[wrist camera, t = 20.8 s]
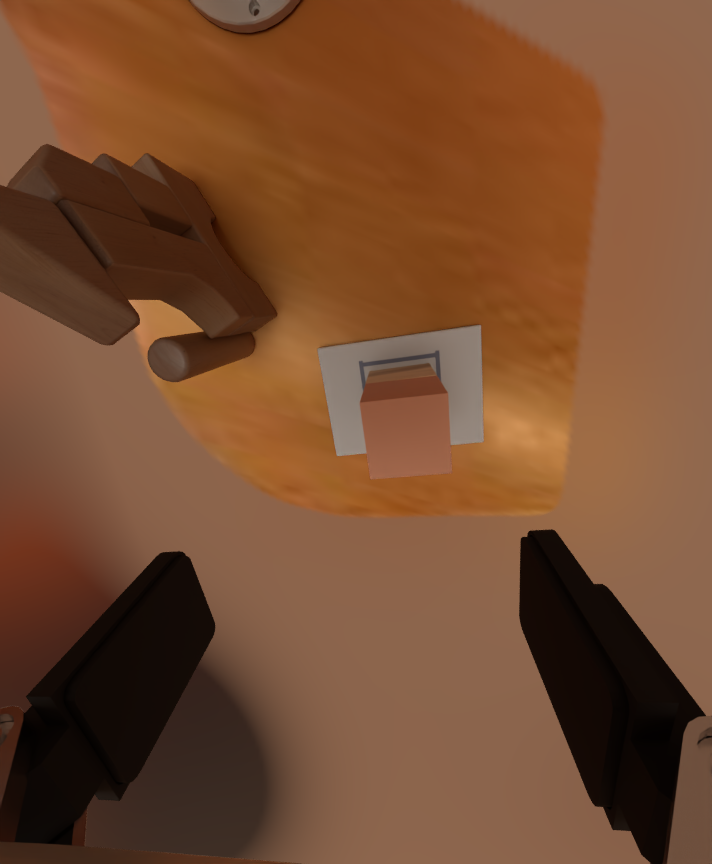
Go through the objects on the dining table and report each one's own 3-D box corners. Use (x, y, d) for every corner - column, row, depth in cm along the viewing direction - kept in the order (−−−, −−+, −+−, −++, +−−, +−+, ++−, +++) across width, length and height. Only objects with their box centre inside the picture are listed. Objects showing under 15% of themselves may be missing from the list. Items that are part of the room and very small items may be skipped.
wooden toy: (142, 224, 33) (-456, 33, 10) (192, 179, 31) (-391, -185, 8) (238, 363, 37) (-24, 464, 14) (288, 330, 35) (84, 381, 12)
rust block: (365, 383, 29) (359, 402, 24) (436, 375, 28) (448, 393, 23) (374, 447, 31) (370, 479, 26) (441, 441, 30) (452, 472, 25)
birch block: (369, 371, 35) (365, 384, 29) (429, 362, 34) (436, 374, 28) (377, 426, 37) (374, 447, 31) (433, 419, 36) (441, 440, 30)
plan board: (319, 347, 35) (317, 348, 34) (478, 324, 33) (481, 325, 32) (338, 452, 39) (336, 456, 38) (481, 438, 37) (483, 442, 36)
